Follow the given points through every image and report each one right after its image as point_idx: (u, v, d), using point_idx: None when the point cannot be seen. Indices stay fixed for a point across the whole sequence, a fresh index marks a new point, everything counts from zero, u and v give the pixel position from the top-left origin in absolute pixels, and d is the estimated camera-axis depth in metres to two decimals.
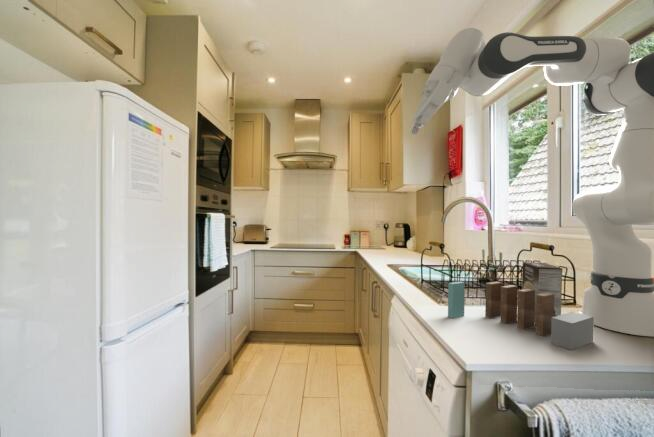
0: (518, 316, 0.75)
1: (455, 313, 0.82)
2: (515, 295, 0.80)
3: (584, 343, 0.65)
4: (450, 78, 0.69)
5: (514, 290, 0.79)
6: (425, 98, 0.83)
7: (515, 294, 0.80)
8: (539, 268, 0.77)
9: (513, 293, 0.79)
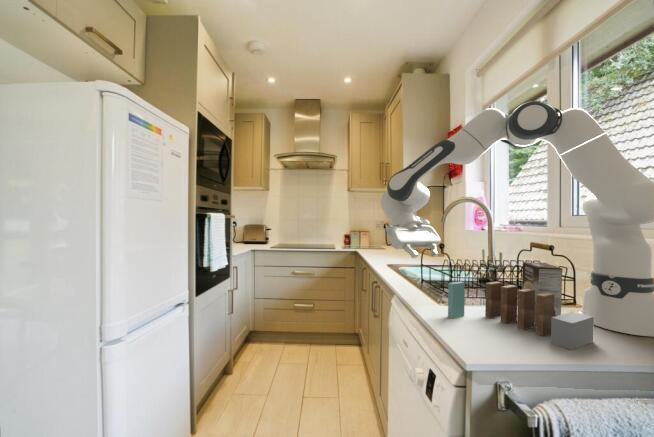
0: (518, 316, 0.75)
1: (455, 313, 0.82)
2: (515, 295, 0.80)
3: (584, 343, 0.65)
4: (388, 233, 0.95)
5: (514, 290, 0.79)
6: None
7: (515, 294, 0.80)
8: (539, 268, 0.77)
9: (513, 293, 0.79)
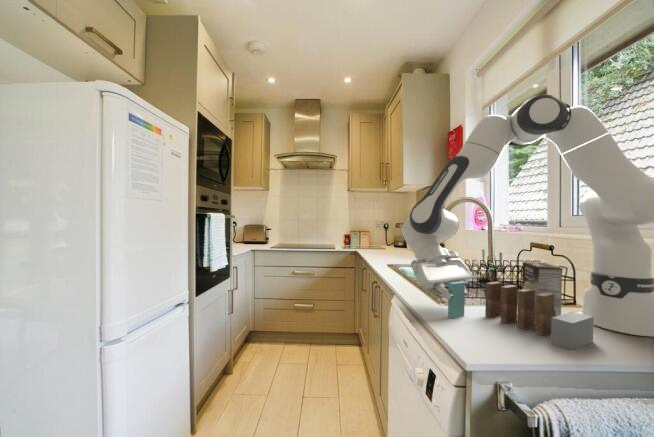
0: (518, 316, 0.75)
1: (455, 313, 0.82)
2: (515, 295, 0.80)
3: (584, 343, 0.65)
4: (414, 270, 0.84)
5: (514, 290, 0.79)
6: None
7: (515, 294, 0.80)
8: (539, 268, 0.77)
9: (513, 293, 0.79)
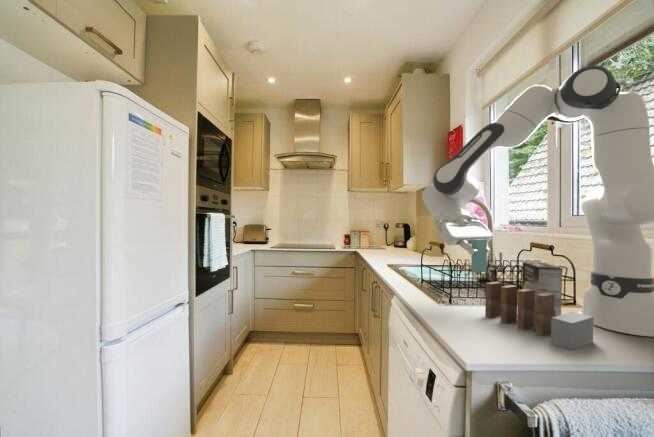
0: (518, 316, 0.75)
1: (478, 268, 0.86)
2: (515, 295, 0.80)
3: (584, 343, 0.65)
4: (438, 228, 0.88)
5: (514, 290, 0.79)
6: None
7: (515, 294, 0.80)
8: (539, 268, 0.77)
9: (513, 293, 0.79)
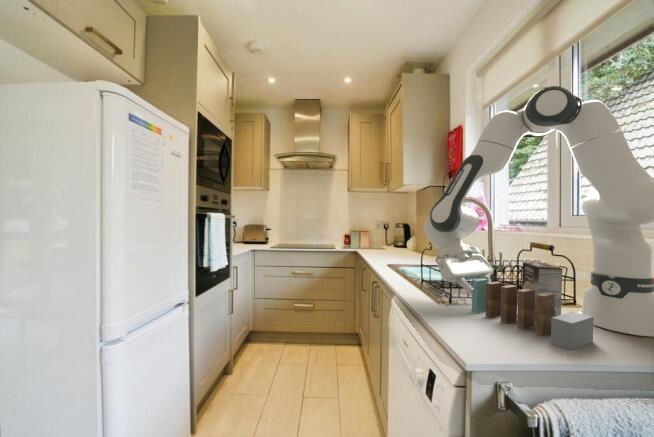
0: (518, 316, 0.75)
1: (479, 308, 0.86)
2: (515, 295, 0.80)
3: (584, 343, 0.65)
4: (439, 265, 0.89)
5: (514, 290, 0.79)
6: None
7: (515, 294, 0.80)
8: (539, 268, 0.77)
9: (513, 293, 0.79)
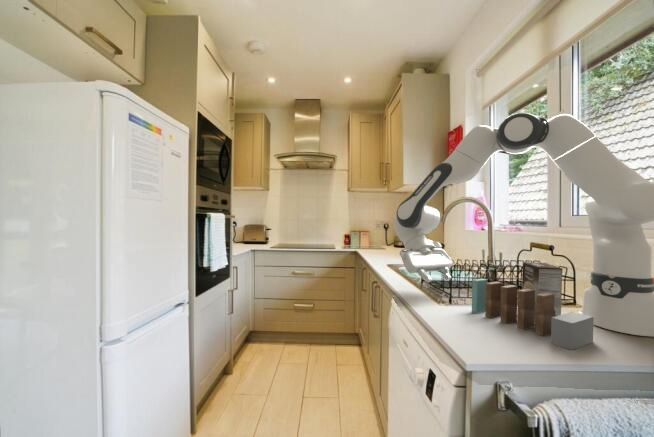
0: (518, 316, 0.75)
1: (479, 308, 0.86)
2: (515, 295, 0.80)
3: (584, 343, 0.65)
4: (402, 257, 0.99)
5: (514, 290, 0.79)
6: None
7: (515, 294, 0.80)
8: (539, 268, 0.77)
9: (513, 293, 0.79)
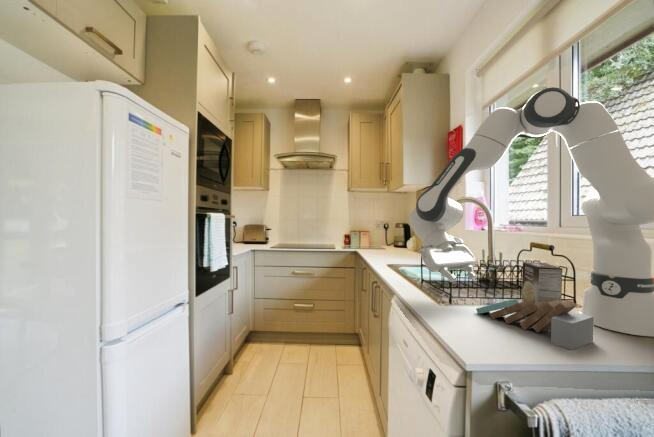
0: (528, 319, 0.73)
1: (484, 312, 0.85)
2: None
3: (584, 343, 0.65)
4: (422, 255, 0.90)
5: None
6: None
7: None
8: (539, 268, 0.77)
9: None
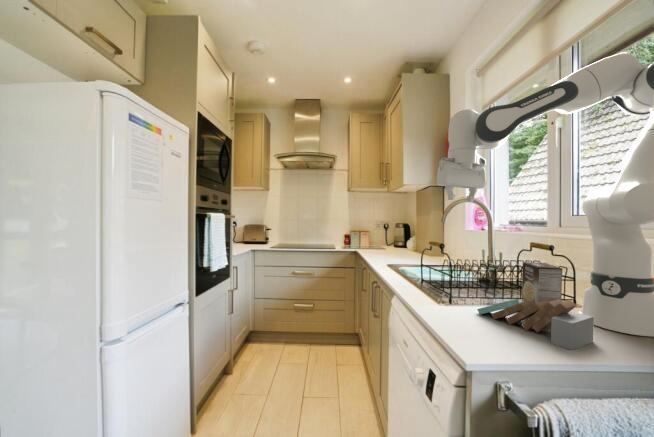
0: (530, 319, 0.72)
1: None
2: None
3: (584, 343, 0.65)
4: (440, 167, 0.91)
5: None
6: None
7: None
8: (539, 268, 0.77)
9: None
